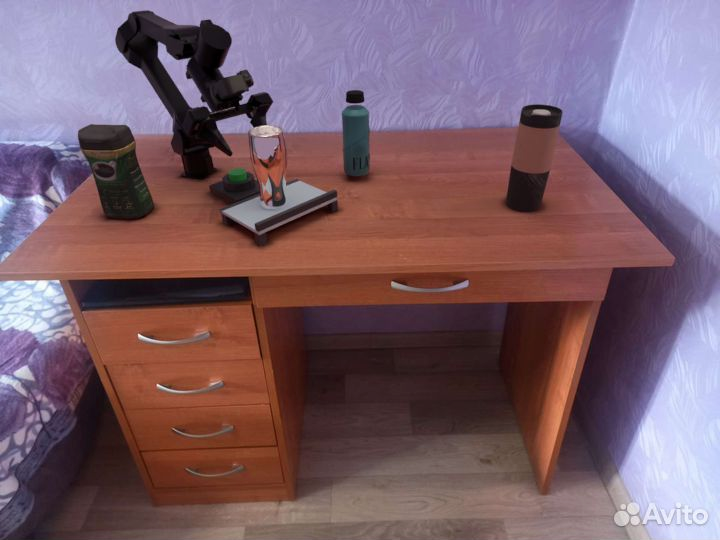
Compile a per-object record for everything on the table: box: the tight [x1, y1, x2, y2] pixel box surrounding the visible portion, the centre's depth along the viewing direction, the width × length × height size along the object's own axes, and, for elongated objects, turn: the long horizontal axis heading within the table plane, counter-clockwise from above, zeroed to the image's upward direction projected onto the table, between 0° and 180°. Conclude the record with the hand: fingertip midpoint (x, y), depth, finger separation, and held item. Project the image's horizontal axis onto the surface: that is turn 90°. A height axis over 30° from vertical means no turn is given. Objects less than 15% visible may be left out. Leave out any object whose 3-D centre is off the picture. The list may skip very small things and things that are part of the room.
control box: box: [208, 171, 260, 205], centre depth 107 cm, size 11×9×4 cm
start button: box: [227, 167, 247, 182], centre depth 105 cm, size 4×4×2 cm
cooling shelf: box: [219, 178, 339, 247], centre depth 97 cm, size 13×20×4 cm, turn 136°
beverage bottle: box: [341, 89, 371, 177], centre depth 109 cm, size 6×7×20 cm
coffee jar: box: [77, 123, 155, 220], centre depth 96 cm, size 10×8×19 cm
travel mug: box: [505, 103, 564, 213], centre depth 96 cm, size 8×8×20 cm
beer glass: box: [247, 124, 290, 210], centre depth 92 cm, size 7×7×15 cm
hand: (250, 149), depth 96 cm, fingers open, 9 cm apart
